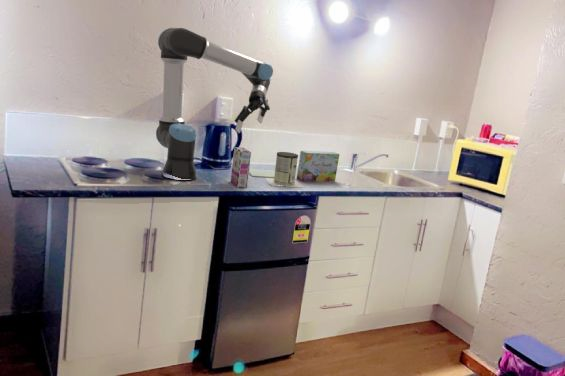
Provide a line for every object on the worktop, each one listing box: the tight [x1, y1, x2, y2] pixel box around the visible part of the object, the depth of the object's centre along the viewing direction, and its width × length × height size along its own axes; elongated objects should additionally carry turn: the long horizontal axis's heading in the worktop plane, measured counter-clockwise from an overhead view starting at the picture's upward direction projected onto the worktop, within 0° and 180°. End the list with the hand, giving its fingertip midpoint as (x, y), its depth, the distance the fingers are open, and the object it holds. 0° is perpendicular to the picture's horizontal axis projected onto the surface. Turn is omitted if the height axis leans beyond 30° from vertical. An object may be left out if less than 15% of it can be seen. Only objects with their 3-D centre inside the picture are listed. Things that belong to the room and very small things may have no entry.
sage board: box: [248, 168, 275, 179], centre depth 252 cm, size 16×16×1 cm
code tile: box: [264, 178, 305, 189], centre depth 238 cm, size 16×16×1 cm
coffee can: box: [274, 151, 299, 185], centre depth 236 cm, size 10×10×14 cm
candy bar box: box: [230, 146, 252, 189], centre depth 220 cm, size 11×5×16 cm, turn 22°
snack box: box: [296, 150, 340, 183], centre depth 251 cm, size 21×6×15 cm, turn 122°
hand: (248, 126), depth 227 cm, fingers open, 13 cm apart
